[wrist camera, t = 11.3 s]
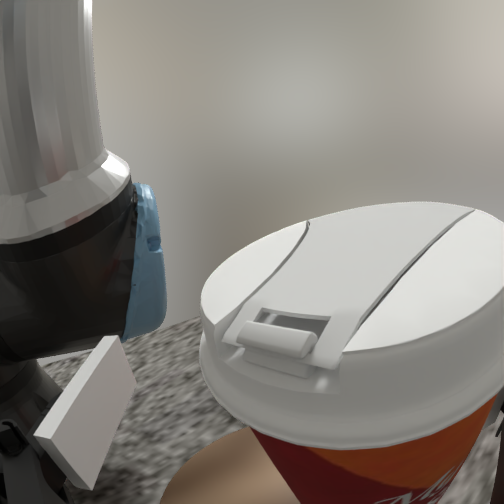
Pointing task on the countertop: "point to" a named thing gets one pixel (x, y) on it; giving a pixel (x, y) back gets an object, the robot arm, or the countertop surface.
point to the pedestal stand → (229, 475)
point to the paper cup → (362, 347)
